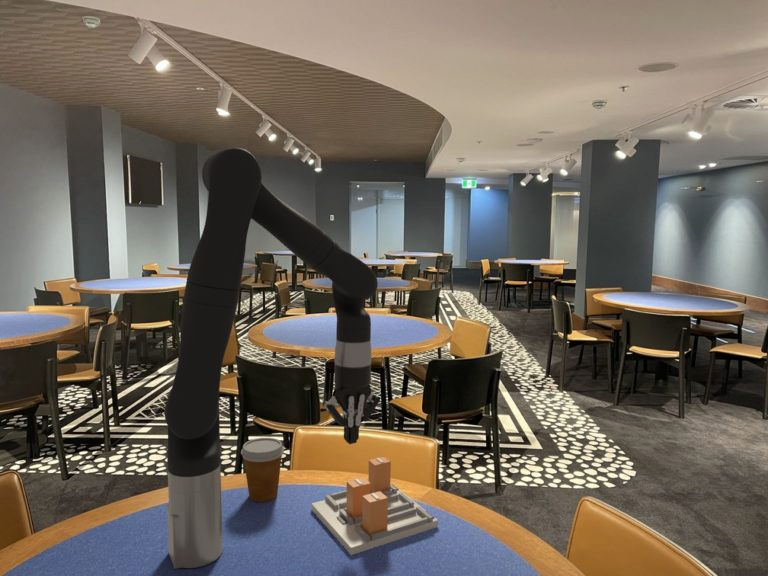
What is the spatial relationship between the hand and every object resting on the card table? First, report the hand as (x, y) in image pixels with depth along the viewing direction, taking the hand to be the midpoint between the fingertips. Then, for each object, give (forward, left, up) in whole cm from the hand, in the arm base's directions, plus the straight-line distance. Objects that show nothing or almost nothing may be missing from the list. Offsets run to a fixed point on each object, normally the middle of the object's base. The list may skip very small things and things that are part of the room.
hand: (351, 442), depth 116 cm
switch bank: (+4, -3, -17) cm, 17 cm away
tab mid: (0, -3, -15) cm, 15 cm away
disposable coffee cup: (-13, +18, -17) cm, 28 cm away
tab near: (0, -10, -15) cm, 18 cm away
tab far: (+9, +4, -15) cm, 18 cm away
